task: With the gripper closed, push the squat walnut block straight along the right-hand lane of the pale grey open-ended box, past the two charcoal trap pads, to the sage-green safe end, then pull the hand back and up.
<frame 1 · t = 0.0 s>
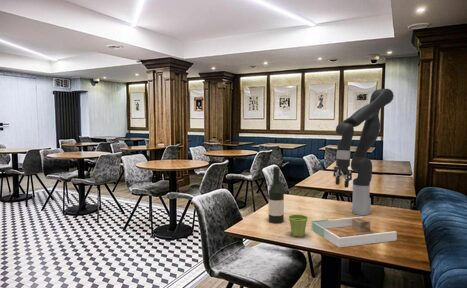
hand: (341, 186, 183), 17 cm above the table, tool pointing down, fingers open, 8 cm apart
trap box: (351, 234, 153), on the table
plant pot: (297, 235, 153), on the table
walnut block: (360, 229, 160), on the table
wine bottle: (276, 221, 173), on the table
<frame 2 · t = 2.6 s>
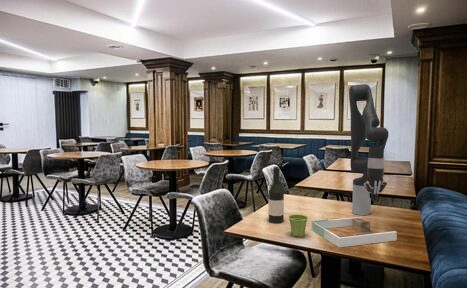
hand: (374, 200, 161), 14 cm above the table, tool pointing down, fingers closed
nothing on the table moved.
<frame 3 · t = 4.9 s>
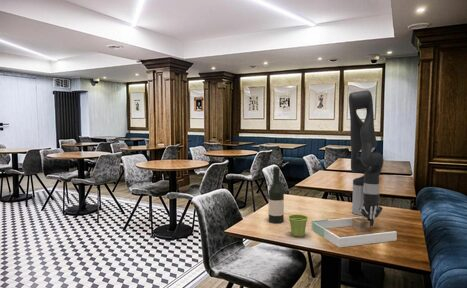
hand: (370, 225, 161), 2 cm above the table, tool pointing down, fingers closed
walnut block: (360, 229, 160), on the table, touching gripper
everything else where it was.
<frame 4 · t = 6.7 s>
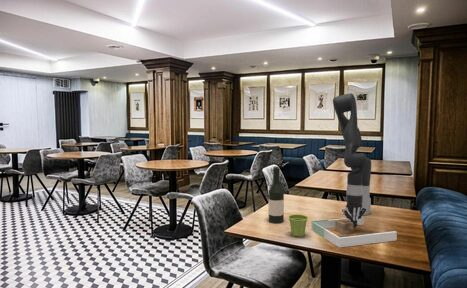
hand: (353, 227, 158), 2 cm above the table, tool pointing down, fingers closed
walnut block: (344, 231, 157), on the table, touching gripper
everything else where it was.
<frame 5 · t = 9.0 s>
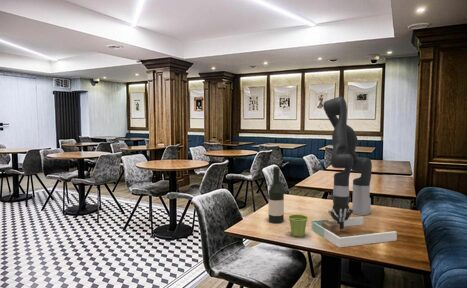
hand: (340, 228, 156), 2 cm above the table, tool pointing down, fingers closed
walnut block: (330, 233, 155), on the table
everything else where it was.
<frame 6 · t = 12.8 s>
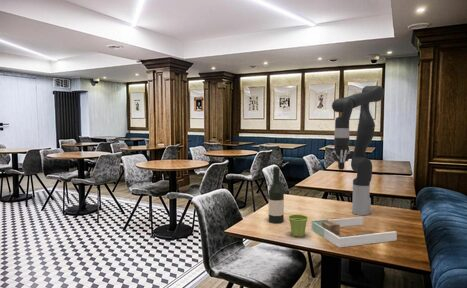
hand: (341, 169, 168), 29 cm above the table, tool pointing down, fingers closed
nothing on the table moved.
at the end: walnut block inside the target area (0.7 cm from its centre), on the table; walnut block tilted 0°; walnut block moved 17.4 cm from its start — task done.
